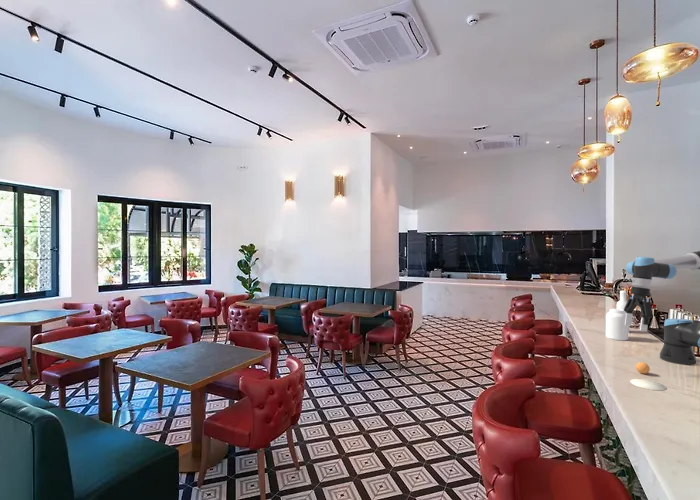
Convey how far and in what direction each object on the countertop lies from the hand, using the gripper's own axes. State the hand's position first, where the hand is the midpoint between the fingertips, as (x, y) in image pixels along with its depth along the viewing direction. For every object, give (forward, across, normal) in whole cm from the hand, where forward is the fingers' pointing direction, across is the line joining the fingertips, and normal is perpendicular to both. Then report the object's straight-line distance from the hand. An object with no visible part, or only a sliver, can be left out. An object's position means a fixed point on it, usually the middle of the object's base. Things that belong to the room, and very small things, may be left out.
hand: (635, 328), depth 185 cm
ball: (+19, +1, +5) cm, 20 cm away
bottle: (+14, -89, +40) cm, 99 cm away
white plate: (+23, +17, -1) cm, 29 cm away
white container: (+17, -69, +26) cm, 76 cm away
